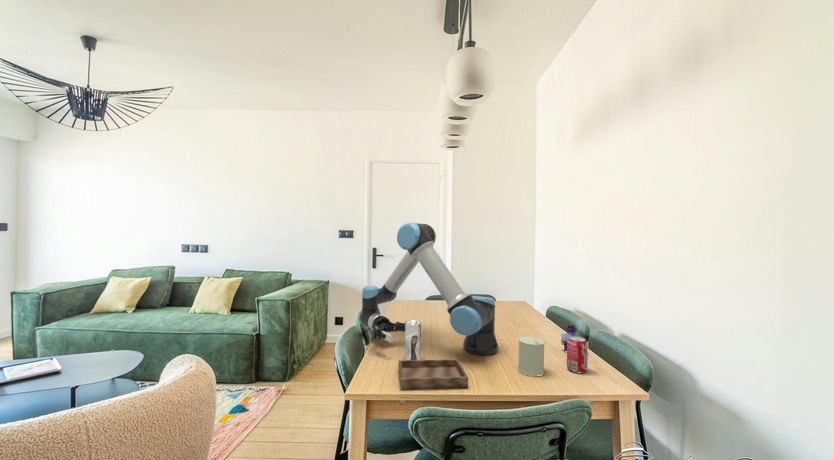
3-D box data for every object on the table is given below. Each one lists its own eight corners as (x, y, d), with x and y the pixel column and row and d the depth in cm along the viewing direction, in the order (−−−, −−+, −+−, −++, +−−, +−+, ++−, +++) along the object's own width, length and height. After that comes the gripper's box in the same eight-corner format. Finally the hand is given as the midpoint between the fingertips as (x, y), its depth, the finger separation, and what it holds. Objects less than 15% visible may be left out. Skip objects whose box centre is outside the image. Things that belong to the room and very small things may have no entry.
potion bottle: (556, 348, 149) (557, 321, 149) (575, 348, 150) (576, 322, 150) (566, 355, 141) (566, 327, 141) (586, 355, 141) (586, 327, 141)
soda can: (585, 368, 127) (586, 337, 128) (588, 375, 121) (589, 342, 121) (565, 365, 130) (566, 334, 130) (567, 372, 123) (568, 340, 123)
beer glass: (419, 364, 128) (420, 325, 128) (401, 362, 129) (402, 323, 129) (422, 357, 135) (423, 320, 135) (405, 356, 136) (406, 319, 136)
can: (531, 378, 117) (532, 344, 117) (512, 369, 125) (513, 337, 126) (549, 374, 121) (550, 341, 122) (530, 365, 130) (531, 334, 130)
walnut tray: (457, 368, 125) (457, 359, 125) (467, 388, 109) (468, 377, 109) (398, 369, 122) (398, 360, 122) (400, 390, 106) (400, 379, 107)
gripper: (401, 328, 160) (428, 339, 143) (354, 336, 146) (377, 350, 129) (402, 312, 161) (429, 322, 143) (354, 319, 146) (378, 331, 129)
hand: (405, 335), depth 136 cm, fingers open, 13 cm apart
